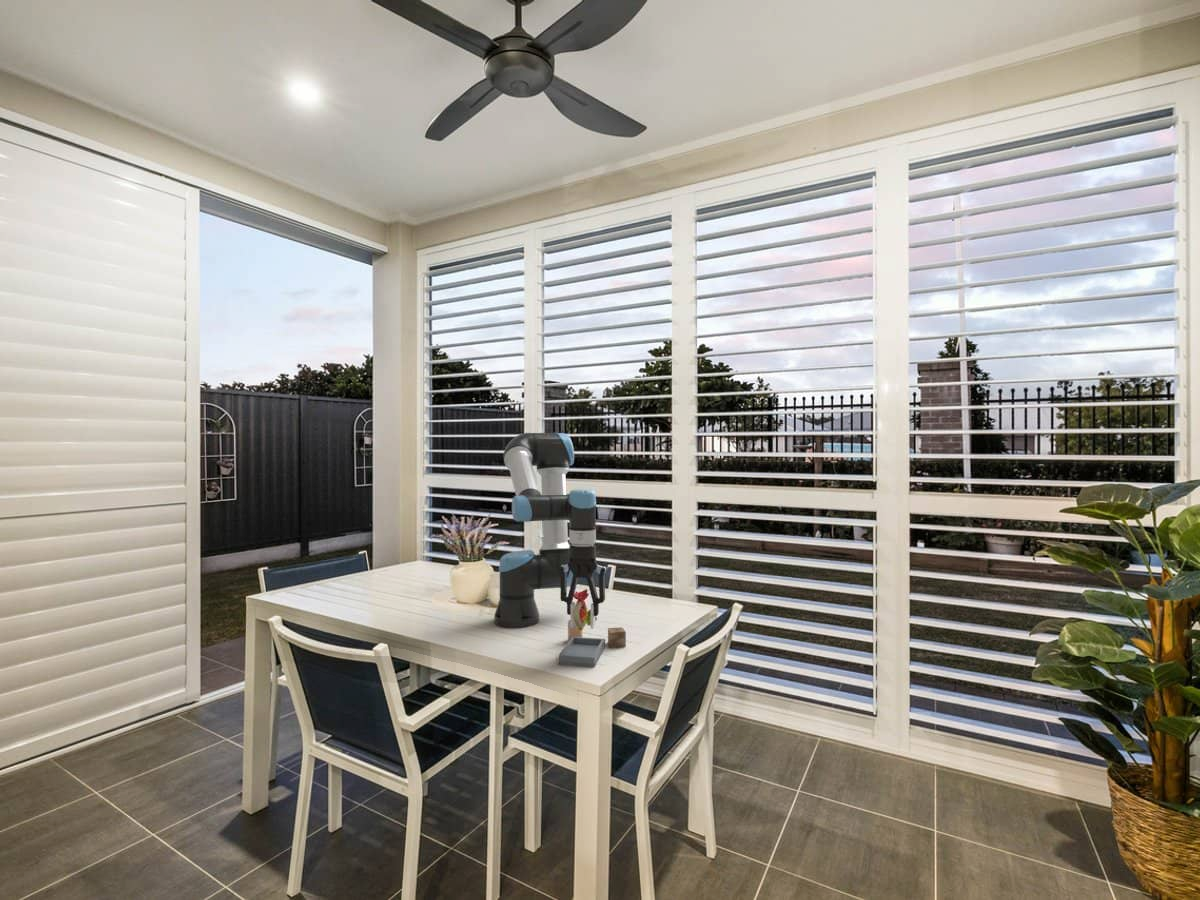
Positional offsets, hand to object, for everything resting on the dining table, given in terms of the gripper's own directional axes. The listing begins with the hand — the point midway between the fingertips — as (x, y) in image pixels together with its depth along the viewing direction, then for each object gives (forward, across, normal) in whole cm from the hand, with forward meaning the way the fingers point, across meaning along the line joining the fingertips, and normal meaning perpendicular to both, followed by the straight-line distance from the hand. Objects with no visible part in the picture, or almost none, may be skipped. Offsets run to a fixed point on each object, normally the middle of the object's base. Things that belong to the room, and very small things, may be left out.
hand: (582, 626), depth 168 cm
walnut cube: (+8, +8, +11) cm, 16 cm away
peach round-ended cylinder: (+8, -5, +12) cm, 16 cm away
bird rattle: (+1, 0, 0) cm, 1 cm away
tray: (+8, 0, 0) cm, 8 cm away
